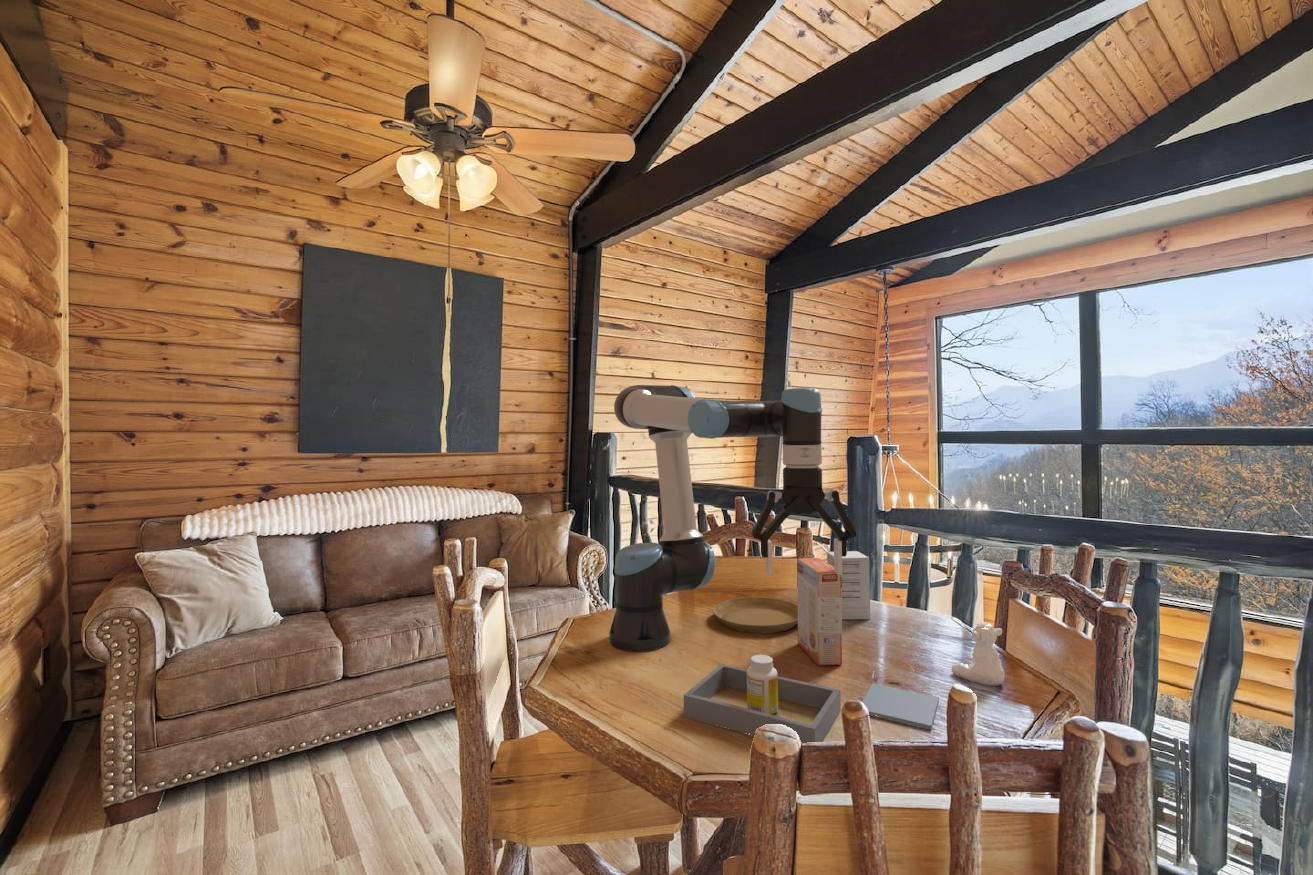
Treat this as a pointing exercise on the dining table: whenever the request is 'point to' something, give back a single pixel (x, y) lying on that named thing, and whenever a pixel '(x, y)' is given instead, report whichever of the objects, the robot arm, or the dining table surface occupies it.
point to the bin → (750, 720)
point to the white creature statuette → (983, 658)
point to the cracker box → (820, 611)
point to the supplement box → (854, 585)
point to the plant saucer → (757, 614)
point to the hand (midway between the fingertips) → (803, 573)
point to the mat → (901, 706)
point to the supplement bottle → (762, 685)
